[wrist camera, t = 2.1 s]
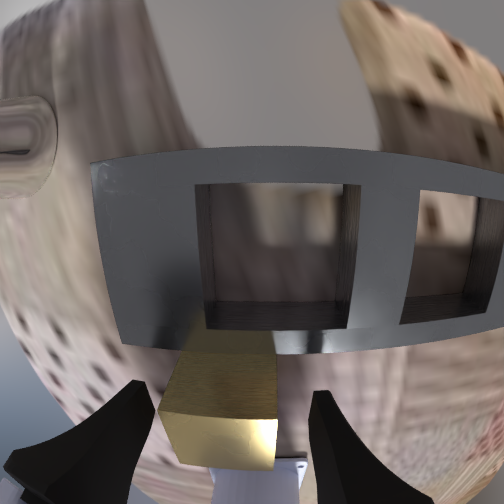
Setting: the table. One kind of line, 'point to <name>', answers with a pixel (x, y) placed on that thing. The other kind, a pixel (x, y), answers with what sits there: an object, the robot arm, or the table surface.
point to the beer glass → (25, 145)
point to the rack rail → (350, 260)
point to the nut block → (222, 410)
